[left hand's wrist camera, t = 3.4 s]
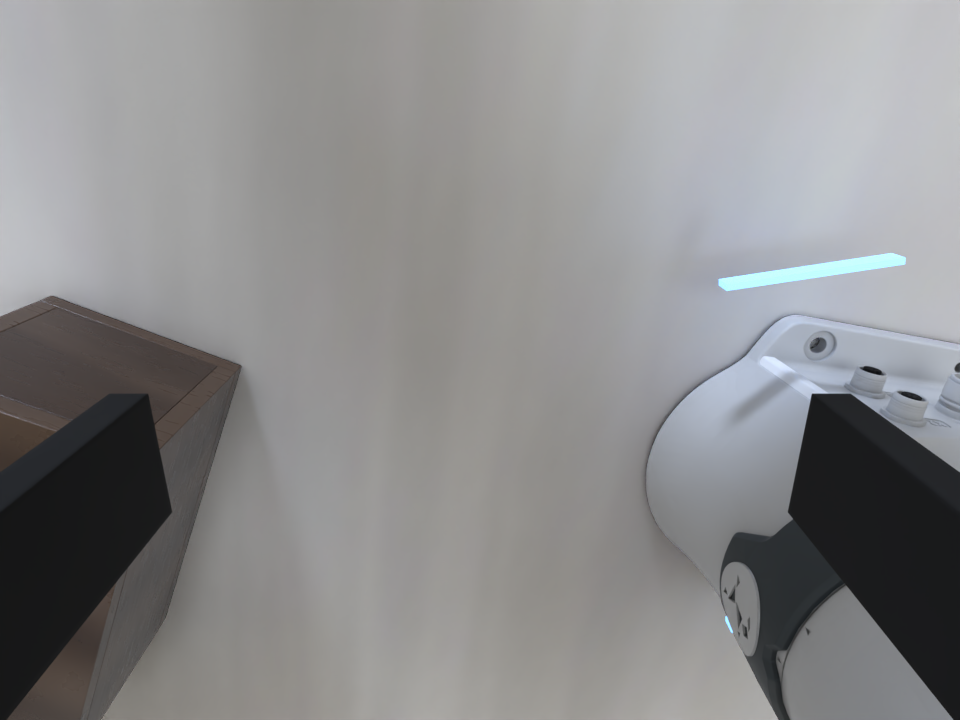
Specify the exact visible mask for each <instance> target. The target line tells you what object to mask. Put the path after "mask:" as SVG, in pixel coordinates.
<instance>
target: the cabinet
mask: <svg viewBox="0 0 960 720" xmlns="http://www.w3.org/2000/svg"><path fill="white" fill-rule="evenodd" d="M240 370H241V366H240V365H237V364H235V363H232V362H229V361H226V360H224V359H221V358H218V357H216V356H213V355H210V354H207V353H205V352H202V351H199V350H197V349H194V348H191V347H188V346H186V345H183V344H180V343H178V342H175V341H172V340H170V339H167V338H164V337H161V336H159V335H156V334H153V333H151V332H148V331H145V330H142V329H140V328H137V327H134V326H132V325H129V324H126V323H123V322H121V321H118V320H115V319H113V318H110V317H107V316H105V315H102V314H99V313H96V312H94V311H91V310H88V309H86V308H83V307H80V306H77V305H75V304H72V303H69V302H67V301H64V300H61V299H58V298H56V297H53V296H50V297H47V298H45V299H42V300H40V301H38V302H35V303H33V304H30V305H28V306H25V307H23V308H20V309H18V310H15V311H13V312H10V313H8V314H5V315H3V316H1V317H0V472H1V471H3V470H4V469H5V468H7V467H8V466H10V465H11V464H12V463H14V462H15V461H16V460H18V459H19V458H21V457H22V456H23V455H25V454H26V453H28V452H29V451H30V450H32V449H33V448H35V447H36V446H37V445H39V444H40V443H41V442H43V441H44V440H46V439H47V438H48V437H50V436H51V435H53V434H54V433H55V432H57V431H58V430H60V429H61V428H62V427H64V426H65V425H66V424H68V423H69V422H71V421H72V420H73V419H75V418H76V417H78V416H79V415H80V414H82V413H83V412H84V411H86V410H87V409H89V408H90V407H91V406H93V405H94V404H96V403H97V402H98V401H100V400H101V399H103V398H104V397H105V396H107V395H108V394H148V395H149V400H150V405H151V410H152V415H153V420H154V425H155V429H156V434H157V439H158V444H159V449H160V454H161V459H162V464H163V469H164V474H165V479H166V483H167V488H168V493H169V498H170V503H171V508H172V513H171V514H170V516H169V517H168V518H167V519H166V521H165V522H164V523H163V524H162V526H161V527H160V528H159V529H158V531H157V532H156V533H155V534H154V536H153V537H152V538H151V539H150V541H149V542H148V543H147V544H146V546H145V547H144V548H143V550H142V551H141V552H140V553H139V555H138V556H137V557H136V558H135V560H134V561H133V562H132V563H131V565H130V566H129V567H128V568H127V570H126V571H125V572H124V573H123V575H122V576H121V577H120V578H119V580H118V581H117V582H116V583H115V585H114V586H113V587H112V588H111V590H110V591H109V592H108V593H107V595H106V596H105V597H104V598H103V600H102V601H101V602H100V603H99V605H98V606H97V607H96V608H95V610H94V611H93V612H92V613H91V615H90V616H89V617H88V618H87V620H86V621H85V622H84V623H83V625H82V626H81V627H80V628H79V630H78V631H77V632H76V633H75V635H74V636H73V637H72V638H71V640H70V641H69V642H68V643H67V645H66V646H65V647H64V648H63V650H62V651H61V652H60V654H59V655H58V656H57V657H56V659H55V660H54V661H53V662H52V664H51V665H50V666H49V667H48V669H47V670H46V671H45V672H44V674H43V675H42V676H41V677H40V679H39V680H38V681H37V682H36V684H35V685H34V686H33V687H32V689H31V690H30V691H29V692H28V694H27V695H26V696H25V697H24V699H23V700H22V701H21V702H20V704H19V705H18V706H17V707H16V709H15V710H14V711H13V712H12V714H11V715H10V716H9V717H8V719H7V720H101V719H102V717H103V716H104V714H105V713H106V711H107V709H108V708H109V706H110V705H111V703H112V702H113V700H114V698H115V697H116V695H117V694H118V692H119V691H120V689H121V687H122V686H123V684H124V683H125V681H126V680H127V678H128V676H129V675H130V673H131V672H132V670H133V669H134V667H135V665H136V664H137V662H138V661H139V659H140V658H141V656H142V654H143V653H144V651H145V650H146V648H147V647H148V645H149V643H150V642H151V640H152V639H153V637H154V636H155V634H156V632H157V631H158V629H159V628H160V626H161V624H162V623H163V621H164V620H165V617H166V614H167V610H168V607H169V604H170V601H171V597H172V594H173V591H174V587H175V584H176V581H177V577H178V574H179V571H180V568H181V564H182V561H183V558H184V554H185V551H186V548H187V545H188V541H189V538H190V535H191V531H192V528H193V525H194V521H195V518H196V515H197V512H198V508H199V505H200V502H201V498H202V495H203V492H204V488H205V485H206V482H207V479H208V475H209V472H210V469H211V465H212V462H213V459H214V455H215V452H216V449H217V446H218V442H219V439H220V436H221V432H222V429H223V426H224V422H225V419H226V416H227V413H228V409H229V406H230V403H231V399H232V396H233V393H234V389H235V386H236V383H237V380H238V376H239V373H240Z"/></svg>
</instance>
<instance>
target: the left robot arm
mask: <svg viewBox="0 0 960 720" xmlns="http://www.w3.org/2000/svg"><path fill="white" fill-rule="evenodd" d="M171 513H172V508H171V503H170V498H169V493H168V488H167V483H166V479H165V474H164V469H163V464H162V459H161V454H160V449H159V444H158V439H157V434H156V429H155V425H154V420H153V415H152V410H151V405H150V400H149V395H148V394H108V395H107V396H105V397H104V398H103V399H101V400H100V401H98V402H97V403H96V404H94V405H93V406H91V407H90V408H89V409H87V410H86V411H84V412H83V413H82V414H80V415H79V416H78V417H76V418H75V419H73V420H72V421H71V422H69V423H68V424H66V425H65V426H64V427H62V428H61V429H60V430H58V431H57V432H55V433H54V434H53V435H51V436H50V437H48V438H47V439H46V440H44V441H43V442H41V443H40V444H39V445H37V446H36V447H35V448H33V449H32V450H30V451H29V452H28V453H26V454H25V455H23V456H22V457H21V458H19V459H18V460H16V461H15V462H14V463H12V464H11V465H10V466H8V467H7V468H5V469H4V470H3V471H1V472H0V720H7V719H8V717H9V716H10V715H11V714H12V712H13V711H14V710H15V709H16V707H17V706H18V705H19V704H20V702H21V701H22V700H23V699H24V697H25V696H26V695H27V694H28V692H29V691H30V690H31V689H32V687H33V686H34V685H35V684H36V682H37V681H38V680H39V679H40V677H41V676H42V675H43V674H44V672H45V671H46V670H47V669H48V667H49V666H50V665H51V664H52V662H53V661H54V660H55V659H56V657H57V656H58V655H59V654H60V652H61V651H62V650H63V648H64V647H65V646H66V645H67V643H68V642H69V641H70V640H71V638H72V637H73V636H74V635H75V633H76V632H77V631H78V630H79V628H80V627H81V626H82V625H83V623H84V622H85V621H86V620H87V618H88V617H89V616H90V615H91V613H92V612H93V611H94V610H95V608H96V607H97V606H98V605H99V603H100V602H101V601H102V600H103V598H104V597H105V596H106V595H107V593H108V592H109V591H110V590H111V588H112V587H113V586H114V585H115V583H116V582H117V581H118V580H119V578H120V577H121V576H122V575H123V573H124V572H125V571H126V570H127V568H128V567H129V566H130V565H131V563H132V562H133V561H134V560H135V558H136V557H137V556H138V555H139V553H140V552H141V551H142V550H143V548H144V547H145V546H146V544H147V543H148V542H149V541H150V539H151V538H152V537H153V536H154V534H155V533H156V532H157V531H158V529H159V528H160V527H161V526H162V524H163V523H164V522H165V521H166V519H167V518H168V517H169V516H170V514H171ZM788 513H789V514H790V516H791V517H792V518H793V519H794V521H795V522H796V523H797V524H798V526H799V527H800V528H801V529H802V531H803V532H804V533H805V534H806V536H807V537H808V538H809V539H810V541H811V542H812V543H813V545H814V546H815V547H816V548H817V550H818V551H819V552H820V553H821V555H822V556H823V557H824V558H825V560H826V561H827V562H828V563H829V565H830V566H831V567H832V568H833V570H834V571H835V572H836V573H837V575H838V576H839V577H840V578H841V580H842V581H843V582H844V583H845V585H846V586H847V587H848V588H849V590H850V591H851V592H852V593H853V595H854V596H855V597H856V598H857V600H858V601H859V602H860V603H861V605H862V606H863V607H864V608H865V610H866V611H867V612H868V613H869V615H870V616H871V617H872V618H873V620H874V621H875V622H876V623H877V625H878V626H879V627H880V628H881V630H882V631H883V632H884V633H885V635H886V636H887V637H888V638H889V640H890V641H891V642H892V643H893V645H894V646H895V647H896V648H897V650H898V651H899V652H900V654H901V655H902V656H903V657H904V659H905V660H906V661H907V662H908V664H909V665H910V666H911V667H912V669H913V670H914V671H915V672H916V674H917V675H918V676H919V677H920V679H921V680H922V681H923V682H924V684H925V685H926V686H927V687H928V689H929V690H930V691H931V692H932V694H933V695H934V696H935V697H936V699H937V700H938V701H939V702H940V704H941V705H942V706H943V707H944V709H945V710H946V711H947V712H948V714H949V715H950V716H951V717H952V719H953V720H960V472H959V471H957V470H956V469H955V468H953V467H952V466H950V465H949V464H948V463H946V462H945V461H944V460H942V459H941V458H939V457H938V456H937V455H935V454H934V453H932V452H931V451H930V450H928V449H927V448H925V447H924V446H923V445H921V444H920V443H919V442H917V441H916V440H914V439H913V438H912V437H910V436H909V435H907V434H906V433H905V432H903V431H902V430H900V429H899V428H898V427H896V426H895V425H894V424H892V423H891V422H889V421H888V420H887V419H885V418H884V417H882V416H881V415H880V414H878V413H877V412H875V411H874V410H873V409H871V408H870V407H869V406H867V405H866V404H864V403H863V402H862V401H860V400H859V399H857V398H856V397H855V396H853V395H852V394H812V395H811V400H810V405H809V410H808V415H807V420H806V425H805V429H804V434H803V439H802V444H801V449H800V454H799V459H798V464H797V469H796V474H795V479H794V483H793V488H792V493H791V498H790V503H789V508H788Z"/></svg>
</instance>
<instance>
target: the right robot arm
mask: <svg viewBox="0 0 960 720" xmlns="http://www.w3.org/2000/svg"><path fill="white" fill-rule="evenodd" d="M903 264H905V257H902V256H899V255H896V254H893V253H889V254H883V255H876V256H869V257H863V258H856V259H849V260H843V261H836V262H829V263H823V264H816V265H809V266H803V267H796V268H790V269H783V270H776V271H770V272H763V273H756V274H750V275H743V276H736V277H730V278H723V279H719V286H720V287H722V288H723V289H725V290H726V291H729V290H736V289H742V288H749V287H756V286H763V285H769V284H776V283H783V282H789V281H796V280H803V279H809V278H816V277H823V276H830V275H836V274H843V273H850V272H856V271H863V270H870V269H876V268H883V267H890V266H897V265H903ZM815 338H820V341H819V343H818V345H817V346H815V347H814V348H810V344H811V342H812V341H813V340H814V339H815ZM812 394H852V395H853V396H855V397H856V398H857V399H859V400H860V401H862V402H863V403H864V404H866V405H867V406H869V407H870V408H871V409H873V410H874V411H875V412H877V413H878V414H880V415H881V416H882V417H884V418H885V419H887V420H888V421H889V422H891V423H892V424H894V425H895V426H896V427H898V428H899V429H900V430H902V431H903V432H905V433H906V434H907V435H909V436H910V437H912V438H913V439H914V440H916V441H917V442H919V443H920V444H921V445H923V446H924V447H925V448H927V449H928V450H930V451H931V452H932V453H934V454H935V455H937V456H938V457H939V458H941V459H942V460H944V461H945V462H946V463H948V464H949V465H950V466H952V467H953V468H955V469H956V470H957V471H959V472H960V344H956V343H950V342H945V341H939V340H934V339H928V338H923V337H917V336H912V335H906V334H901V333H895V332H890V331H884V330H879V329H874V328H868V327H863V326H857V325H852V324H846V323H841V322H835V321H830V320H824V319H819V318H813V317H808V316H802V315H790V316H786V317H784V318H782V319H780V320H779V321H777V322H776V323H775V324H773V325H772V326H771V327H770V328H769V329H768V330H767V331H766V332H765V333H764V335H763V336H762V337H761V338H760V339H759V340H758V341H757V343H756V344H755V345H754V346H753V347H752V349H751V350H750V351H749V352H748V354H747V355H746V356H745V357H744V358H742V359H741V360H740V361H738V362H737V363H735V364H734V365H732V366H731V367H729V368H727V369H725V370H724V371H722V372H720V373H718V374H717V375H715V376H713V377H712V378H710V379H709V380H707V381H705V382H704V383H703V384H701V385H700V386H699V387H697V388H696V389H695V390H693V391H692V392H691V393H690V394H689V395H688V396H687V397H686V398H685V399H683V400H682V401H681V402H680V403H679V405H678V406H677V407H676V408H675V409H674V410H673V411H672V413H671V414H670V415H669V417H668V418H667V420H666V421H665V423H664V424H663V426H662V427H661V429H660V431H659V433H658V435H657V437H656V439H655V441H654V443H653V446H652V449H651V452H650V455H649V459H648V464H647V470H646V492H647V499H648V503H649V507H650V510H651V512H652V515H653V517H654V519H655V521H656V523H657V525H658V526H659V528H660V529H661V531H662V532H663V533H664V535H665V536H666V537H667V538H668V539H669V540H670V541H671V542H672V543H673V544H674V545H675V546H676V547H677V548H678V549H680V550H681V551H682V552H683V553H684V554H685V555H686V556H687V557H688V558H689V559H690V560H691V561H692V562H693V563H694V564H695V566H696V567H697V568H698V569H699V570H700V571H701V573H702V574H703V575H704V576H705V578H706V579H707V580H708V582H709V583H710V584H711V586H712V587H713V588H714V590H715V591H716V593H717V594H718V596H719V597H720V599H721V602H722V605H723V608H724V610H725V613H726V615H727V616H725V621H726V623H727V625H728V627H729V629H730V631H731V633H733V634H734V636H735V638H736V640H737V642H738V644H739V646H740V648H741V649H742V651H743V653H744V655H745V657H746V659H747V661H748V663H749V665H750V667H751V669H752V671H753V673H754V675H755V677H756V679H757V681H758V683H759V685H760V686H761V688H762V690H763V692H764V694H765V696H766V697H767V699H768V701H769V703H770V705H771V706H772V708H773V710H774V712H775V714H776V716H777V717H778V719H779V720H953V719H952V717H951V716H950V715H949V714H948V712H947V711H946V710H945V709H944V707H943V706H942V705H941V704H940V702H939V701H938V700H937V699H936V697H935V696H934V695H933V694H932V692H931V691H930V690H929V689H928V687H927V686H926V685H925V684H924V682H923V681H922V680H921V679H920V677H919V676H918V675H917V674H916V672H915V671H914V670H913V669H912V667H911V666H910V665H909V664H908V662H907V661H906V660H905V659H904V657H903V656H902V655H901V654H900V652H899V651H898V650H897V648H896V647H895V646H894V645H893V643H892V642H891V641H890V640H889V638H888V637H887V636H886V635H885V633H884V632H883V631H882V630H881V628H880V627H879V626H878V625H877V623H876V622H875V621H874V620H873V618H872V617H871V616H870V615H869V613H868V612H867V611H866V610H865V608H864V607H863V606H862V605H861V603H860V602H859V601H858V600H857V598H856V597H855V596H854V595H853V593H852V592H851V591H850V590H849V588H848V587H847V586H846V585H845V583H844V582H843V581H842V580H841V578H840V577H839V576H838V575H837V573H836V572H835V571H834V570H833V568H832V567H831V566H830V565H829V563H828V562H827V561H826V560H825V558H824V557H823V556H822V555H821V553H820V552H819V551H818V550H817V548H816V547H815V546H814V545H813V543H812V542H811V541H810V539H809V538H808V537H807V536H806V534H805V533H804V532H803V531H802V529H801V528H800V527H799V526H798V524H797V523H796V522H795V521H794V519H793V518H792V517H791V516H790V514H789V513H788V508H789V503H790V498H791V493H792V488H793V483H794V479H795V474H796V469H797V464H798V459H799V454H800V449H801V444H802V439H803V434H804V429H805V425H806V420H807V415H808V410H809V405H810V400H811V395H812Z"/></svg>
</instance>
